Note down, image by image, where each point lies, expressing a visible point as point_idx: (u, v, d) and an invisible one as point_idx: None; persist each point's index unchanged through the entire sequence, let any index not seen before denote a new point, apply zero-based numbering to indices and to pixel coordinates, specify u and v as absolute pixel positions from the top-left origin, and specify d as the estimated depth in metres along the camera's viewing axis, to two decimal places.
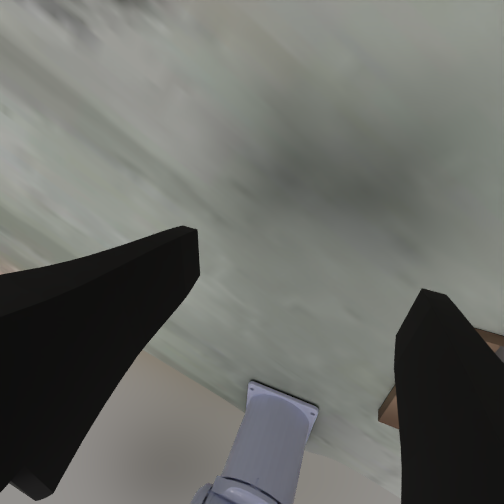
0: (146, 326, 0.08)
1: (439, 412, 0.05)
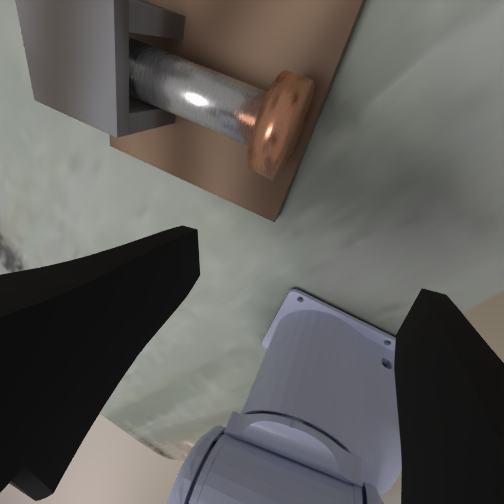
0: (146, 326, 0.08)
1: (439, 412, 0.05)
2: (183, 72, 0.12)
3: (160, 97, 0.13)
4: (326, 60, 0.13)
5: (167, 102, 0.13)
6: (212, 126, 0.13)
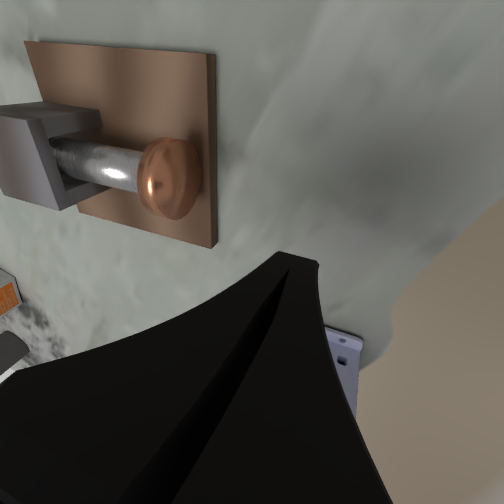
0: None
1: None
2: (92, 155, 0.16)
3: (82, 175, 0.17)
4: (199, 119, 0.16)
5: (88, 178, 0.17)
6: (122, 188, 0.16)
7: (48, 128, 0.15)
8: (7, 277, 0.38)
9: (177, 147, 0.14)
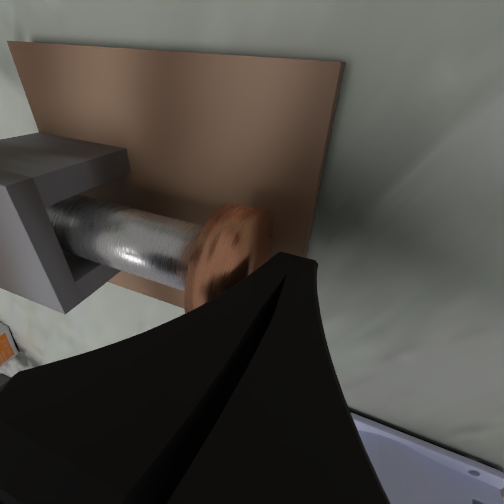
0: None
1: None
2: (100, 228, 0.10)
3: (84, 256, 0.10)
4: (303, 171, 0.09)
5: (93, 260, 0.10)
6: None
7: (46, 192, 0.09)
8: None
9: (253, 227, 0.08)
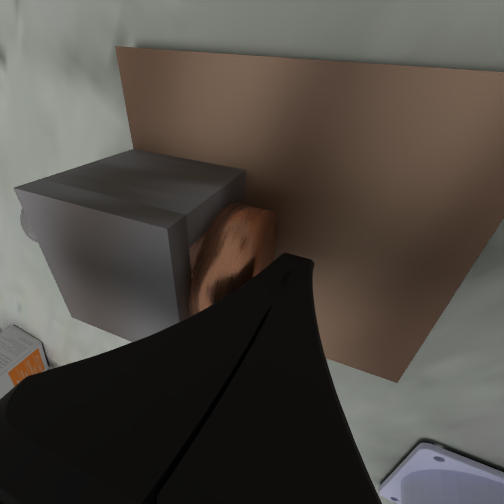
0: None
1: None
2: None
3: None
4: (487, 204, 0.08)
5: None
6: None
7: (192, 229, 0.07)
8: (32, 343, 0.30)
9: (259, 228, 0.08)
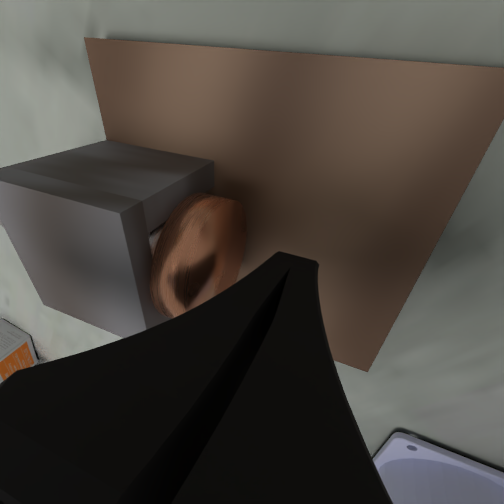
0: None
1: None
2: None
3: None
4: (440, 193, 0.08)
5: None
6: None
7: (150, 216, 0.08)
8: (21, 337, 0.30)
9: (220, 216, 0.08)
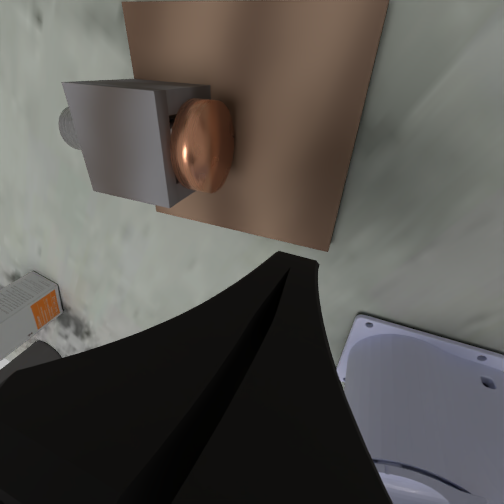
0: None
1: None
2: None
3: None
4: (354, 89, 0.13)
5: None
6: None
7: (170, 103, 0.12)
8: (50, 285, 0.35)
9: (214, 108, 0.13)
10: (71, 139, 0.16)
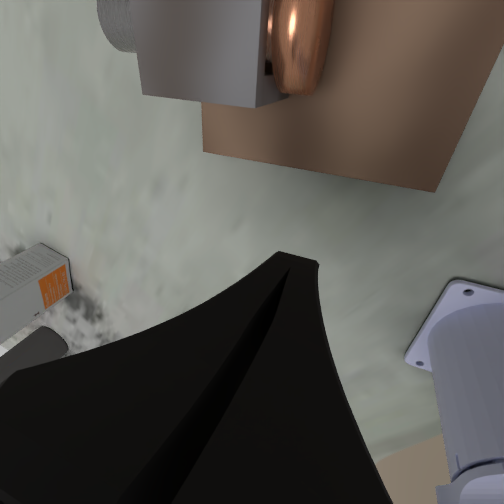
0: None
1: None
2: None
3: None
4: None
5: None
6: None
7: None
8: (60, 259, 0.31)
9: None
10: (112, 26, 0.12)
